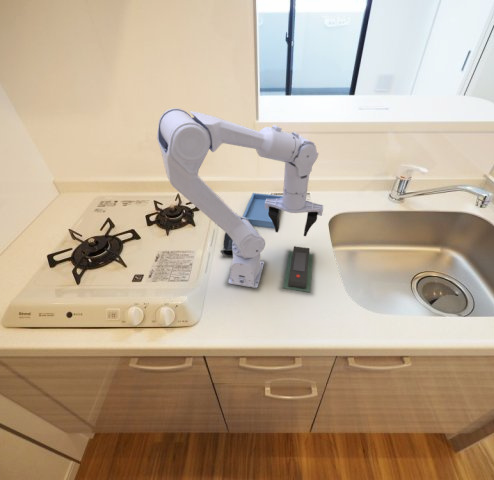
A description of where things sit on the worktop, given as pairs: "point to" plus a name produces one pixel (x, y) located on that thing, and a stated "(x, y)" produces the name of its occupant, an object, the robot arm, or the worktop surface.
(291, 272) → the remote
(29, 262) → the worktop surface
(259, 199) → the box
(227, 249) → the electronic device
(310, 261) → the mat
